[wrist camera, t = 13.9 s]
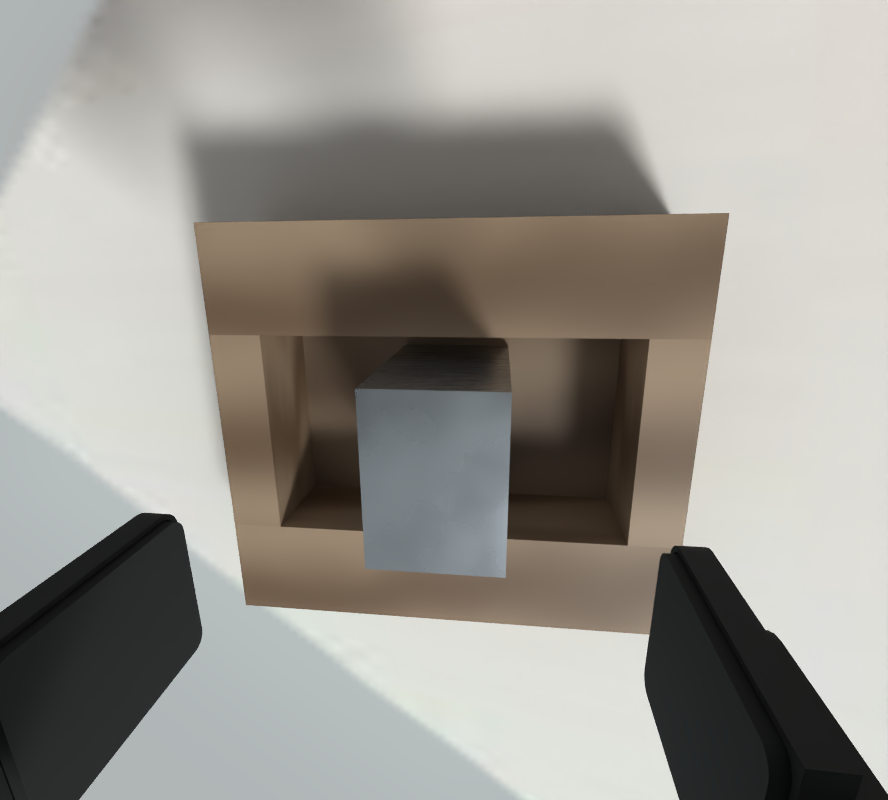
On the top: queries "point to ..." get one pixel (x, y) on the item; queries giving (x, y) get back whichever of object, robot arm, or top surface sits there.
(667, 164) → the top surface
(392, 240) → the walnut well
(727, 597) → the robot arm
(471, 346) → the tall blue-grey block
